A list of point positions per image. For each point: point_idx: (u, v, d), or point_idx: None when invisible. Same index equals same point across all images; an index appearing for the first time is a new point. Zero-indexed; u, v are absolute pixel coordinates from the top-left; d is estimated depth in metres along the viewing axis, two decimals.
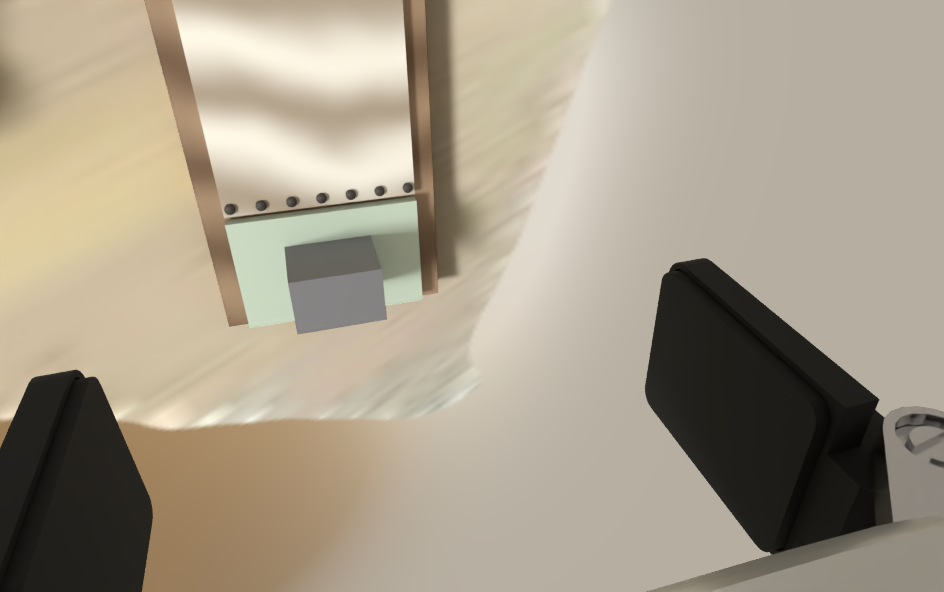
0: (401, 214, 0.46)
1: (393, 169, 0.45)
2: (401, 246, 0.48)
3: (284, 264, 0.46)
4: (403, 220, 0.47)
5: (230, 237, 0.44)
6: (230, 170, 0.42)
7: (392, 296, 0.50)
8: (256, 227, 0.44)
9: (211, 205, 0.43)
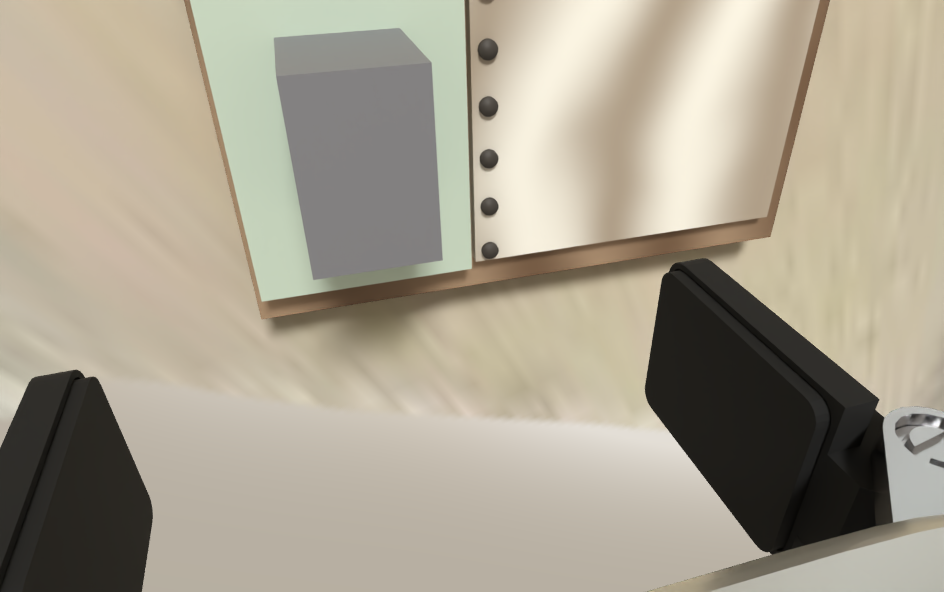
0: (449, 247, 0.26)
1: (522, 225, 0.27)
2: None
3: (358, 23, 0.21)
4: None
5: None
6: None
7: (270, 245, 0.24)
8: None
9: None
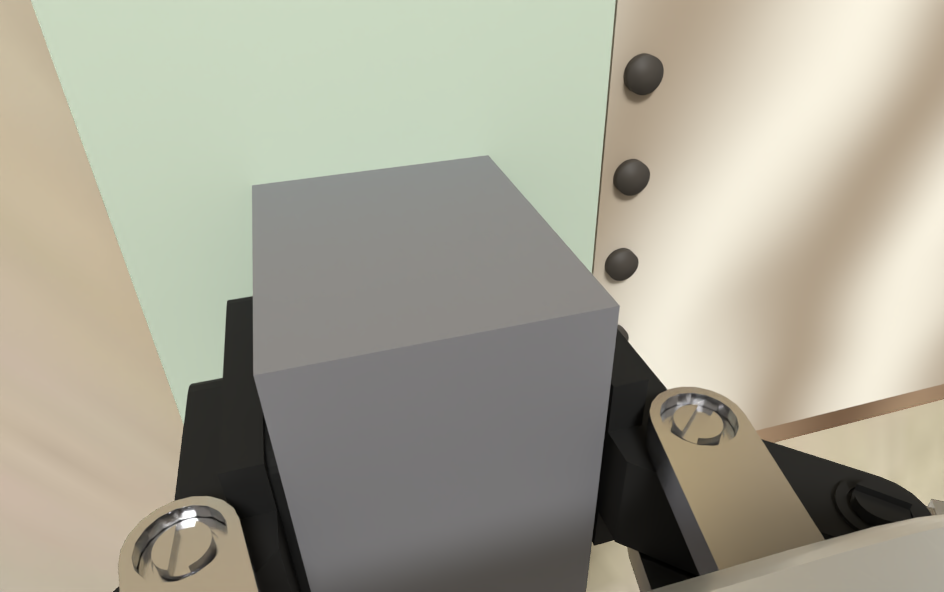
0: None
1: None
2: None
3: (412, 151, 0.11)
4: None
5: None
6: None
7: None
8: (586, 54, 0.11)
9: None
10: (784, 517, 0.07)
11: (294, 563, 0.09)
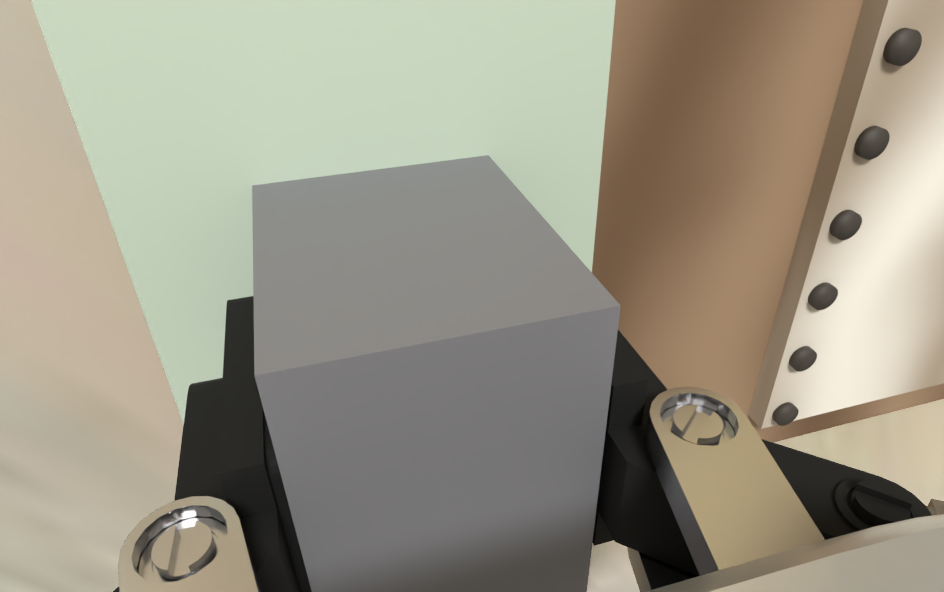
0: None
1: (833, 378, 0.18)
2: None
3: (413, 152, 0.11)
4: None
5: None
6: None
7: None
8: (586, 54, 0.11)
9: None
10: (784, 517, 0.07)
11: (294, 563, 0.09)
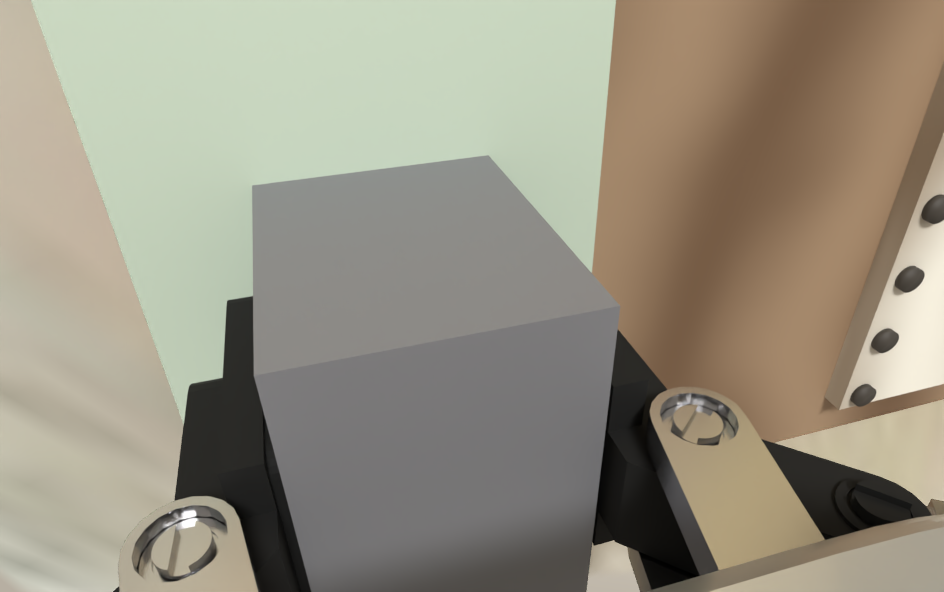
0: None
1: (910, 360, 0.19)
2: None
3: (413, 152, 0.11)
4: None
5: None
6: None
7: None
8: (586, 54, 0.11)
9: None
10: (784, 517, 0.07)
11: (294, 563, 0.09)
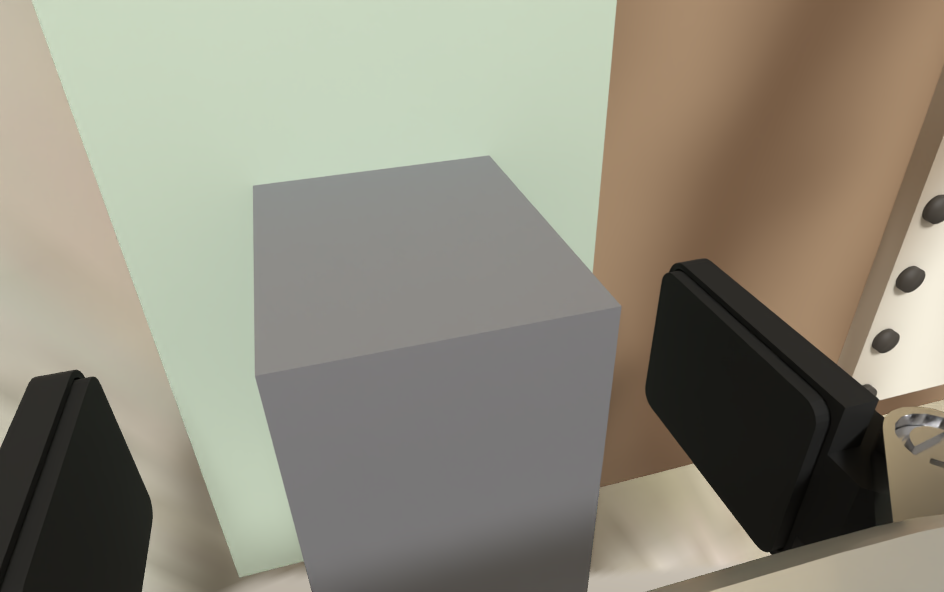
0: None
1: (911, 360, 0.19)
2: None
3: (413, 152, 0.11)
4: None
5: None
6: None
7: (252, 503, 0.14)
8: (587, 54, 0.11)
9: None
10: None
11: None
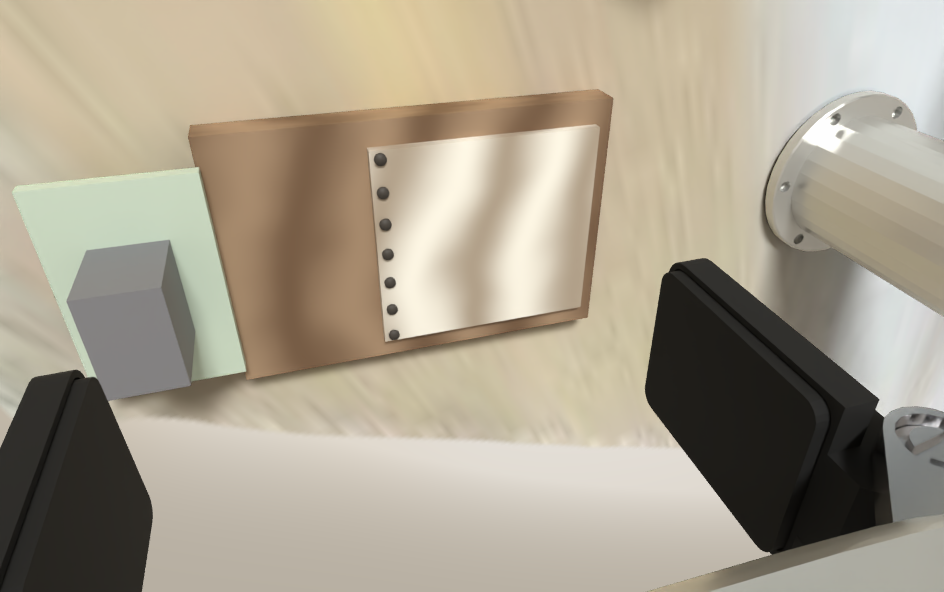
0: (227, 359, 0.39)
1: (414, 319, 0.42)
2: None
3: (141, 239, 0.34)
4: (219, 362, 0.39)
5: (179, 177, 0.33)
6: (426, 163, 0.37)
7: None
8: (197, 208, 0.34)
9: (379, 134, 0.36)
10: None
11: None
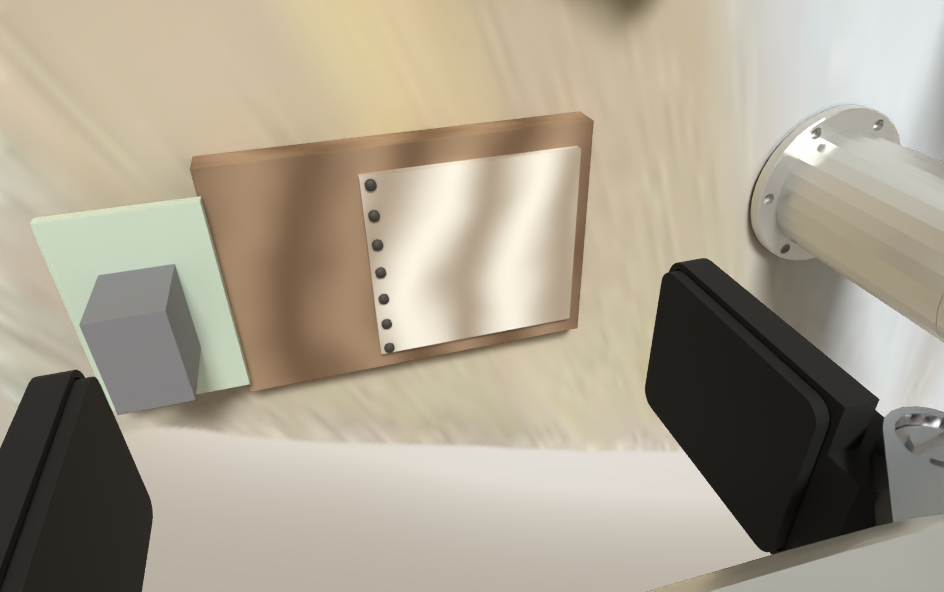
0: (231, 373, 0.42)
1: (408, 332, 0.45)
2: None
3: (148, 264, 0.37)
4: (223, 376, 0.42)
5: (182, 207, 0.35)
6: (414, 187, 0.39)
7: None
8: (200, 234, 0.37)
9: (369, 161, 0.38)
10: None
11: None
